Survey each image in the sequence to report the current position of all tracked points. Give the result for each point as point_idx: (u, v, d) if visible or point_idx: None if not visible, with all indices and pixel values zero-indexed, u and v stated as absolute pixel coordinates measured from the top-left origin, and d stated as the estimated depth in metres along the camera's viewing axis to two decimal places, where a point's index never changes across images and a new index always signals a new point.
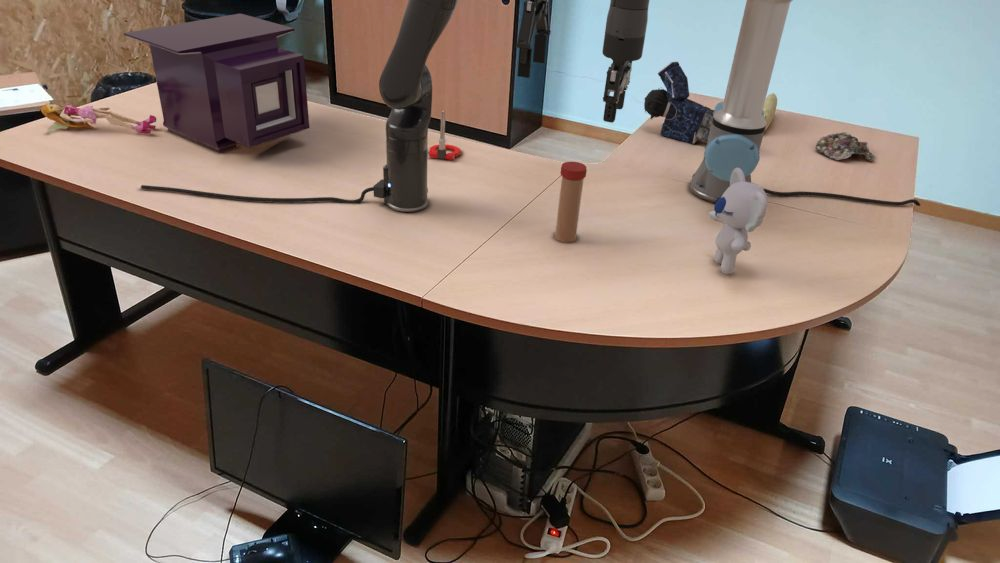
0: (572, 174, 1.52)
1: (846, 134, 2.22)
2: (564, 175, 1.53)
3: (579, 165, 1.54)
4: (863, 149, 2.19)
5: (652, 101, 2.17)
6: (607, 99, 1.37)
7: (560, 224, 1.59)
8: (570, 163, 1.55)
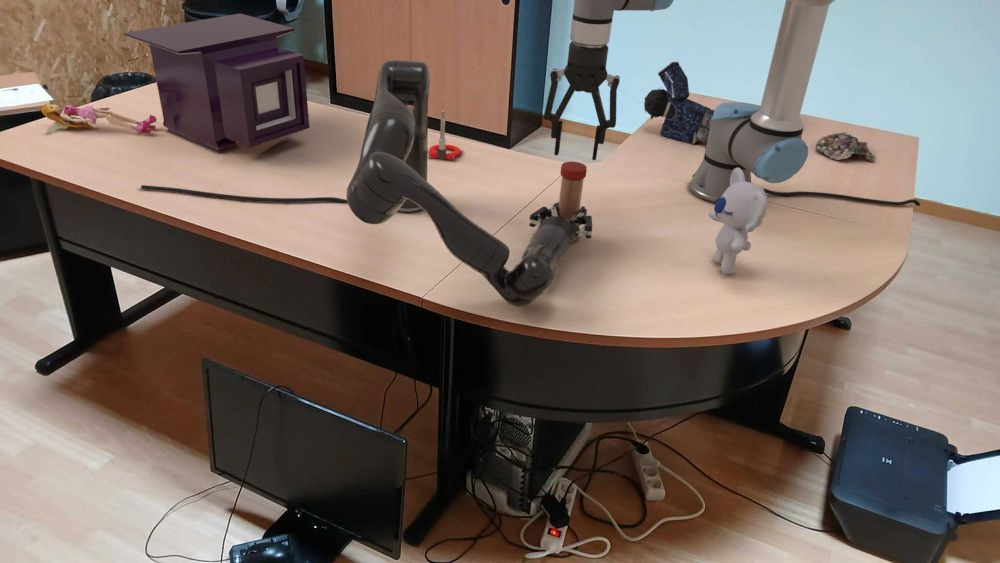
0: (572, 174, 1.52)
1: (846, 134, 2.22)
2: (564, 175, 1.53)
3: (579, 165, 1.54)
4: (863, 149, 2.19)
5: (652, 101, 2.17)
6: None
7: None
8: (570, 163, 1.55)
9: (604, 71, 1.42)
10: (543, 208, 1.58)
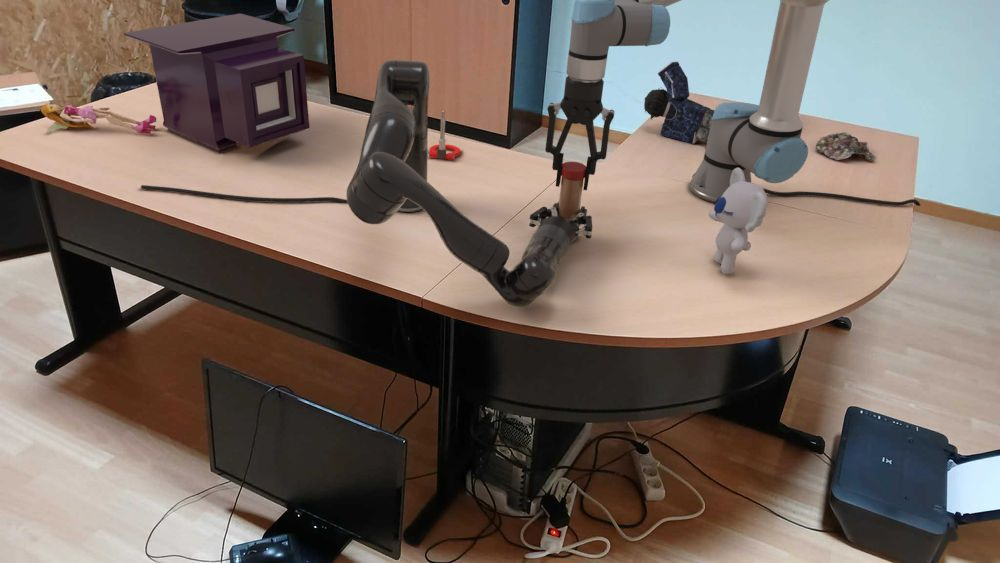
0: (572, 174, 1.52)
1: (846, 134, 2.22)
2: (564, 175, 1.53)
3: (579, 165, 1.54)
4: (863, 149, 2.19)
5: (652, 101, 2.17)
6: None
7: None
8: (570, 163, 1.55)
9: (599, 104, 1.45)
10: (543, 208, 1.58)
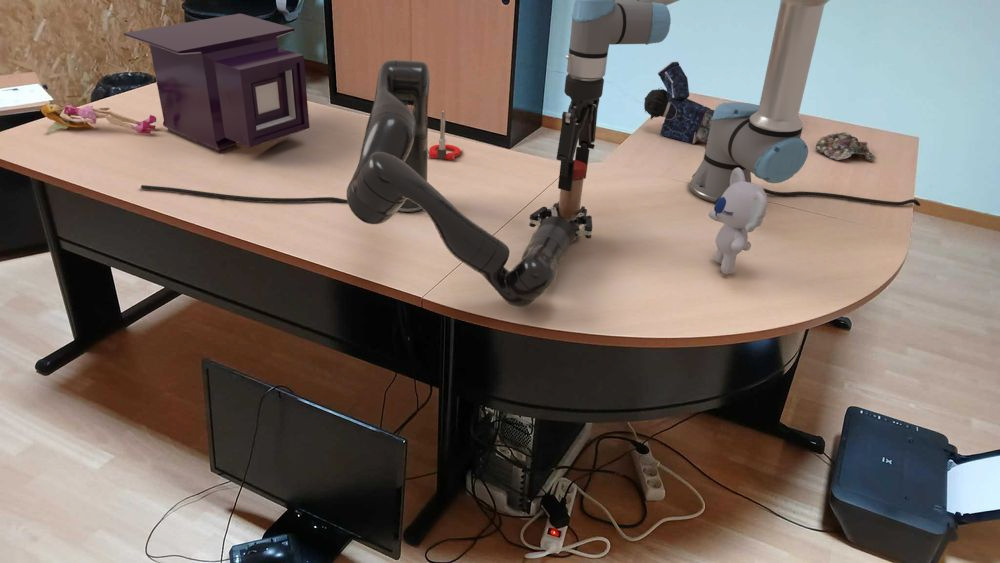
0: None
1: (846, 134, 2.22)
2: (584, 174, 1.53)
3: None
4: (863, 149, 2.19)
5: (652, 101, 2.17)
6: None
7: None
8: None
9: None
10: (543, 208, 1.58)
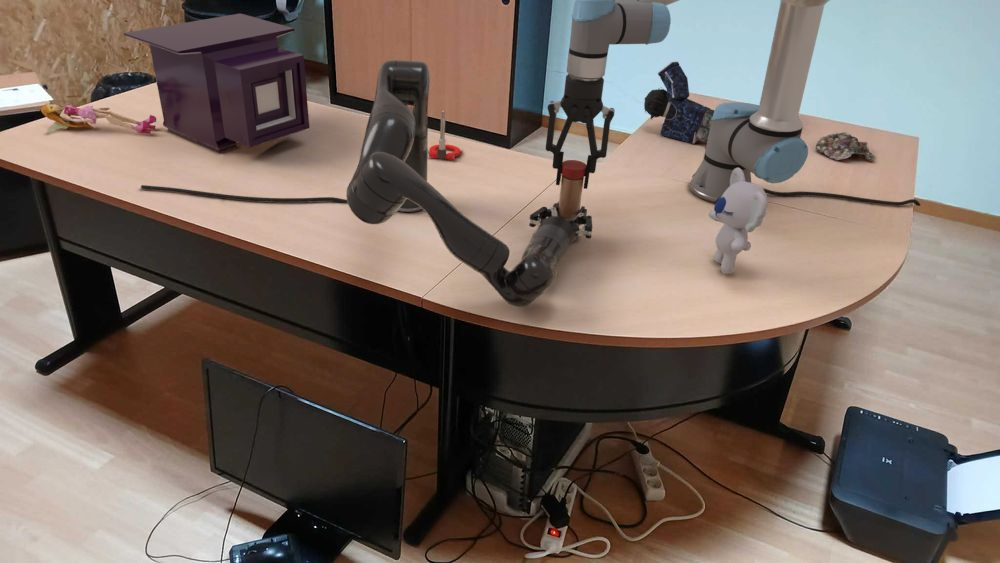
0: None
1: (846, 134, 2.22)
2: (584, 174, 1.53)
3: (569, 162, 1.54)
4: (863, 149, 2.19)
5: (652, 101, 2.17)
6: None
7: None
8: (569, 166, 1.53)
9: (600, 103, 1.45)
10: (543, 208, 1.58)
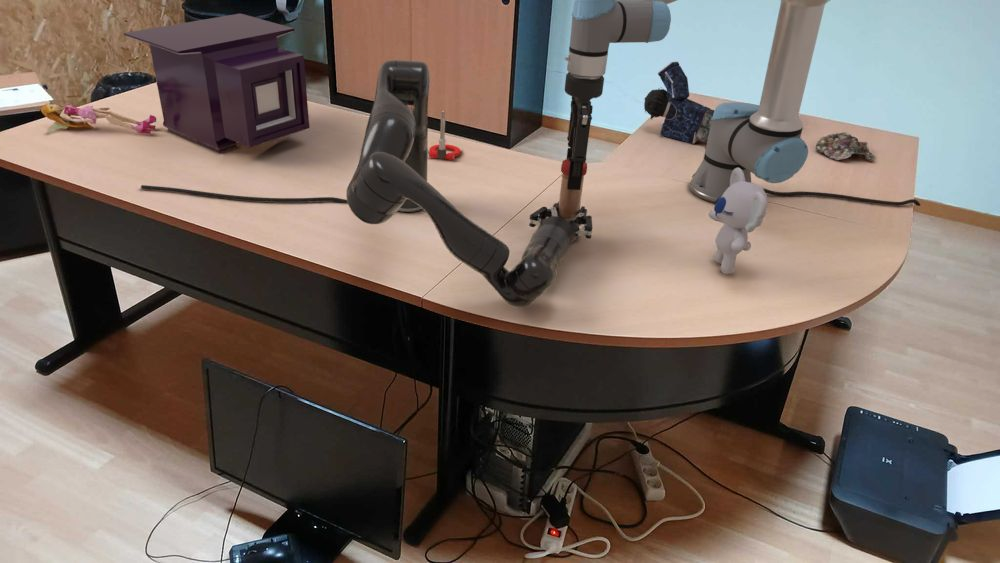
0: None
1: (846, 134, 2.22)
2: None
3: None
4: (863, 149, 2.19)
5: (652, 101, 2.17)
6: None
7: None
8: None
9: None
10: (543, 208, 1.58)
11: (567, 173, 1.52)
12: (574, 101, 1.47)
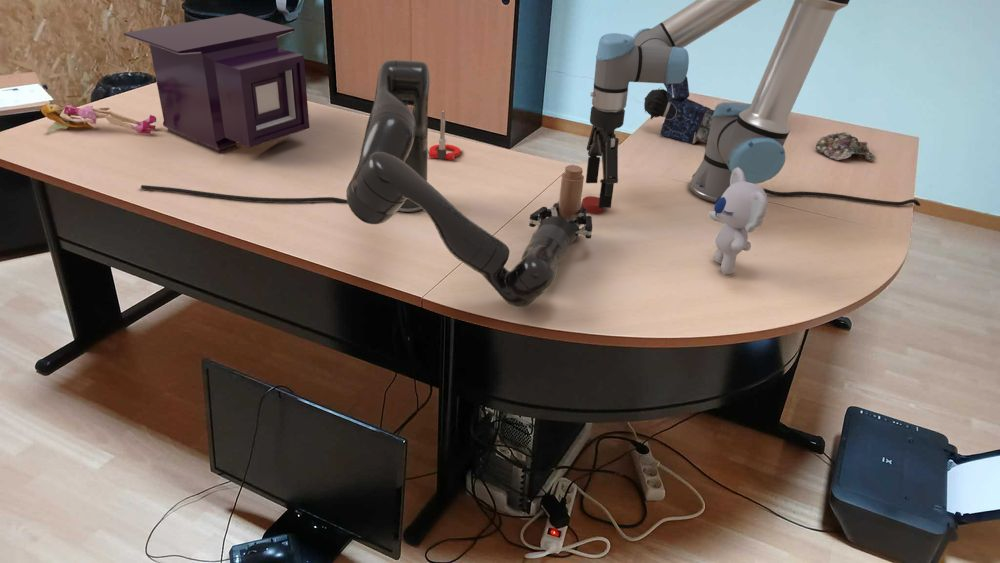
0: None
1: (846, 134, 2.22)
2: None
3: (591, 203, 1.74)
4: (863, 149, 2.19)
5: (652, 101, 2.17)
6: None
7: None
8: None
9: None
10: (543, 208, 1.58)
11: (588, 210, 1.74)
12: (598, 131, 1.67)
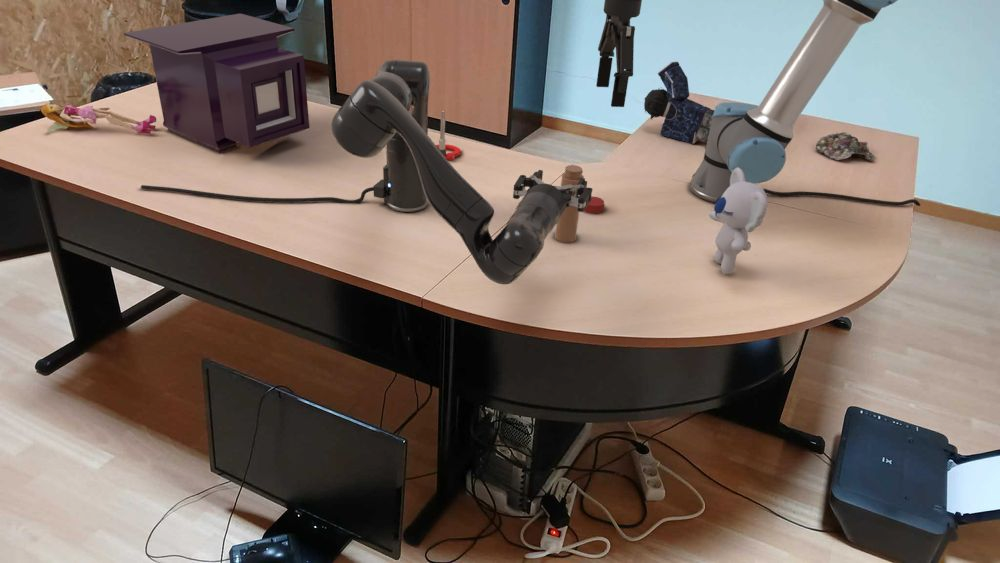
0: None
1: (846, 134, 2.22)
2: None
3: (591, 203, 1.74)
4: (863, 149, 2.19)
5: (652, 101, 2.17)
6: (590, 197, 1.38)
7: (560, 224, 1.59)
8: (599, 202, 1.74)
9: None
10: (522, 177, 1.40)
11: (588, 210, 1.74)
12: (612, 23, 1.54)
